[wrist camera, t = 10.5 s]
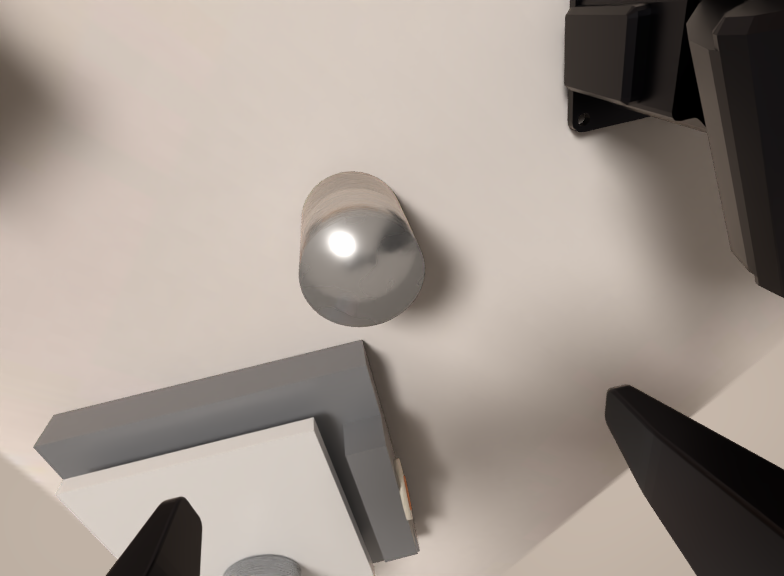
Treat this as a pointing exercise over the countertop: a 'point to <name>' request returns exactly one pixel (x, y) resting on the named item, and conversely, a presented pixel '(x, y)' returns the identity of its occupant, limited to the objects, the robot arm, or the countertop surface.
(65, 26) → the countertop surface
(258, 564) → the cylinder
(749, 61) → the robot arm
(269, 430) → the scale
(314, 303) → the cylinder
